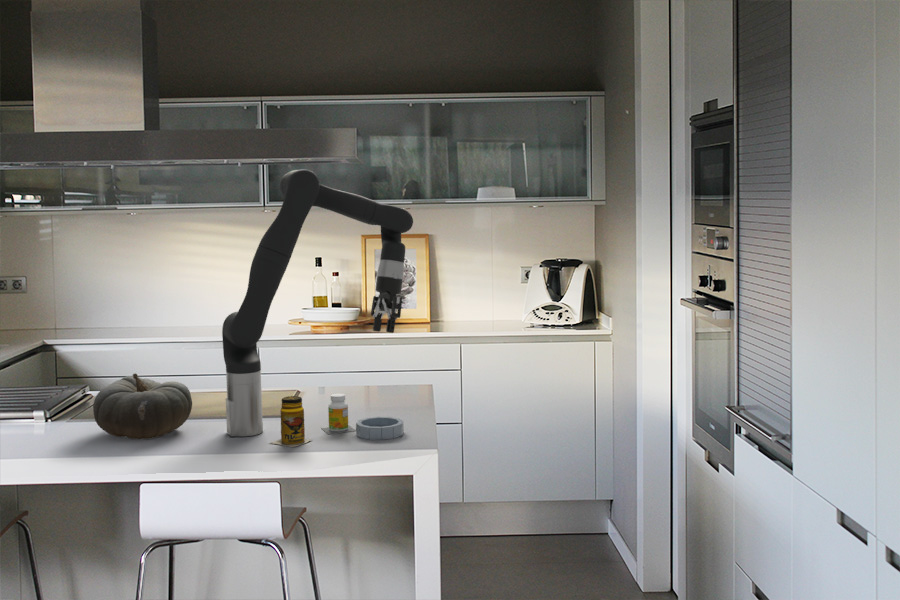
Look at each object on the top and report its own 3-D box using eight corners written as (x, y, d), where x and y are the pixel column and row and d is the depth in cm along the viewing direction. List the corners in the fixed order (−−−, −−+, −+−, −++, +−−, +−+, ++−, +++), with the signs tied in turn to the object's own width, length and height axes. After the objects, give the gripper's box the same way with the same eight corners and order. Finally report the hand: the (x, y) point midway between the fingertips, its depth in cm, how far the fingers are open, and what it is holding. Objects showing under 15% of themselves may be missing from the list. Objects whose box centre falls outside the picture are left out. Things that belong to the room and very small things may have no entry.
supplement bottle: (324, 430, 237) (323, 395, 236) (336, 426, 241) (335, 392, 240) (341, 432, 234) (340, 397, 233) (352, 428, 239) (351, 393, 238)
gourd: (115, 412, 250) (120, 356, 246) (200, 426, 250) (206, 369, 246) (77, 444, 225) (81, 381, 222) (171, 459, 225) (177, 396, 222)
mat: (328, 435, 233) (328, 433, 233) (321, 429, 239) (321, 428, 239) (356, 432, 236) (356, 430, 236) (348, 426, 243) (348, 425, 243)
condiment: (294, 447, 220) (293, 401, 219) (269, 443, 224) (267, 398, 223) (312, 440, 227) (311, 396, 225) (287, 437, 231) (285, 393, 229)
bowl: (365, 441, 225) (365, 429, 225) (351, 430, 236) (351, 419, 236) (409, 436, 230) (409, 424, 230) (393, 426, 241) (393, 414, 241)
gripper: (367, 275, 256) (360, 329, 255) (390, 274, 244) (382, 331, 243) (390, 279, 260) (383, 332, 259) (413, 278, 247) (406, 334, 246)
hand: (383, 331), depth 251 cm, fingers open, 8 cm apart
